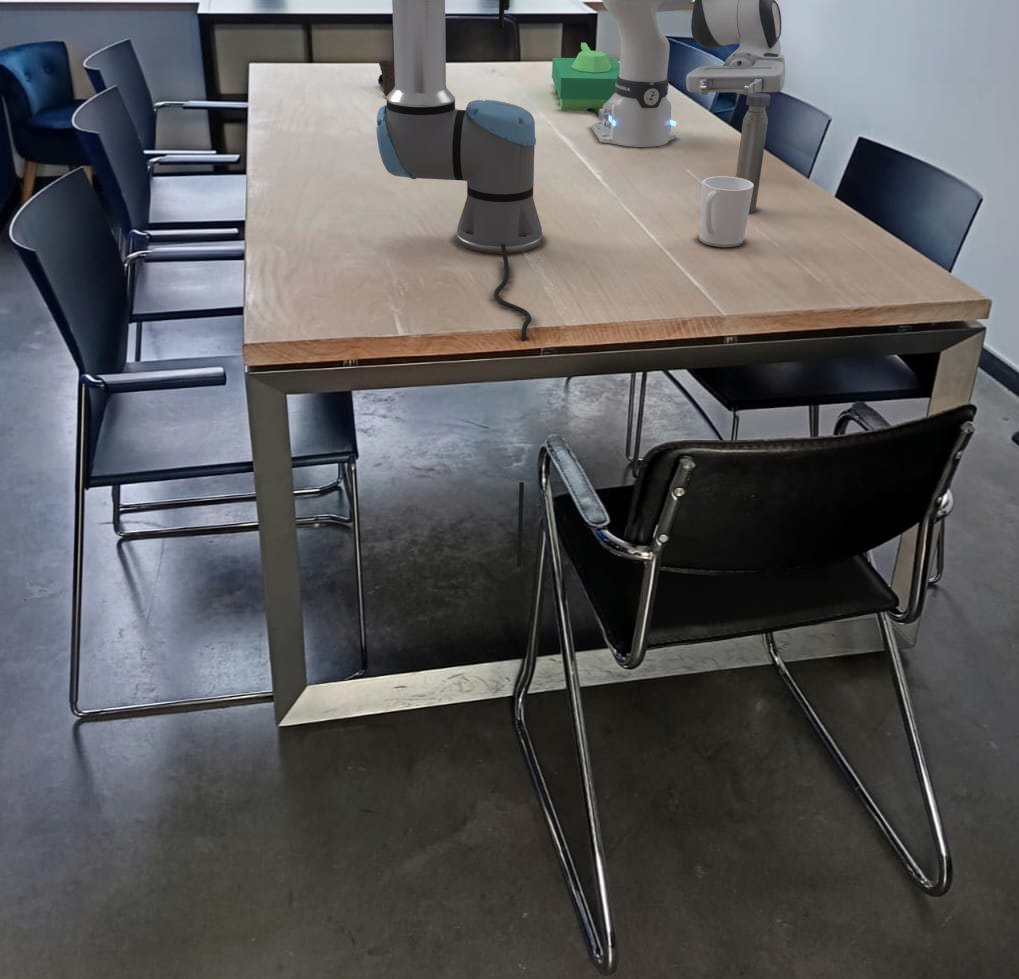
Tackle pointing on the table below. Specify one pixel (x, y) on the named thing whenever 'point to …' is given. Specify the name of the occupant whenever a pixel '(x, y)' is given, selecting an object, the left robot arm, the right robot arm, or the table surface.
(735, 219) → the mug
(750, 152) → the bottle
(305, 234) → the table surface
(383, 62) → the axe head
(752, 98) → the cap
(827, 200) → the table surface
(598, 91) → the toy tank
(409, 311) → the table surface
